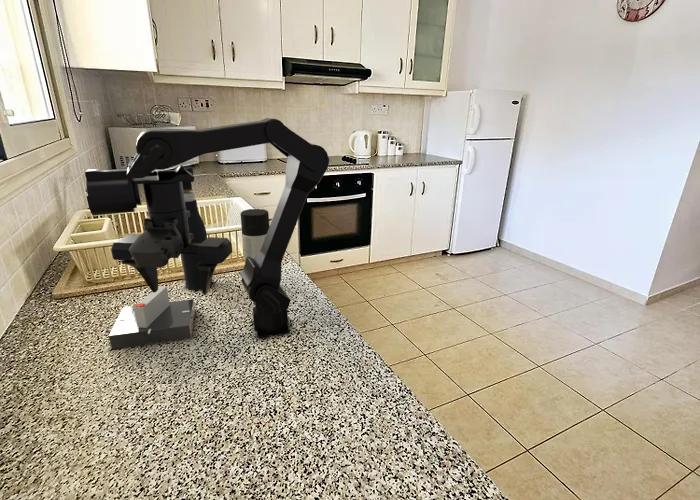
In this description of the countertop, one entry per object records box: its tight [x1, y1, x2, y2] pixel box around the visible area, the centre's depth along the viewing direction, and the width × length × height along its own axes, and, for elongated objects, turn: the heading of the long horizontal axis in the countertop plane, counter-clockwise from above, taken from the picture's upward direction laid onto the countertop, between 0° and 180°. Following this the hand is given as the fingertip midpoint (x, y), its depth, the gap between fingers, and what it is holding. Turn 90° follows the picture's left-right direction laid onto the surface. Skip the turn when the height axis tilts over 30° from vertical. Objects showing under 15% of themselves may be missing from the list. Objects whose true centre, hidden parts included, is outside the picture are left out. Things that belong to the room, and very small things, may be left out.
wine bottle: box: [173, 165, 214, 291], centre depth 91 cm, size 6×6×30 cm
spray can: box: [240, 208, 270, 262], centre depth 92 cm, size 7×7×20 cm
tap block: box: [108, 298, 196, 350], centre depth 77 cm, size 14×13×3 cm
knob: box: [134, 285, 171, 328], centre depth 76 cm, size 9×2×5 cm, turn 177°
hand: (180, 292), depth 67 cm, fingers open, 9 cm apart
